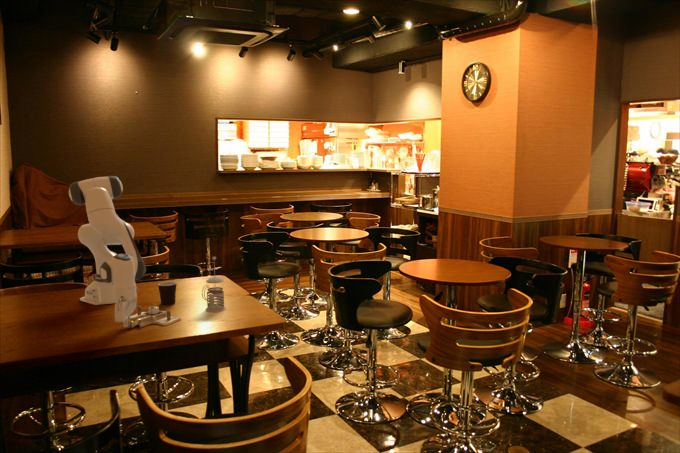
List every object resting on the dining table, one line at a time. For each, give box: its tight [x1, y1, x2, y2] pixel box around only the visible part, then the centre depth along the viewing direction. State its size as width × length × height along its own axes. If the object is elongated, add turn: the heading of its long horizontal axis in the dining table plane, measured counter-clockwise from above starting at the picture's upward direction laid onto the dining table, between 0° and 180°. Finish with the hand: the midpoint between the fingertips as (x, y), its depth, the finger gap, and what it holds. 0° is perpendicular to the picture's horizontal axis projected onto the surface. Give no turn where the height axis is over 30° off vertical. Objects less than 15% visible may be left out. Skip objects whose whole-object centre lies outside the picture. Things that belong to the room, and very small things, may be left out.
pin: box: [127, 316, 146, 330], centre depth 236 cm, size 9×3×3 cm, turn 155°
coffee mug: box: [157, 281, 178, 307], centre depth 271 cm, size 12×9×10 cm
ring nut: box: [147, 305, 160, 316], centre depth 244 cm, size 4×4×5 cm
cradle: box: [130, 305, 182, 328], centre depth 241 cm, size 22×15×5 cm
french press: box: [201, 256, 227, 313], centre depth 258 cm, size 10×12×25 cm
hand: (126, 326), depth 230 cm, fingers closed
